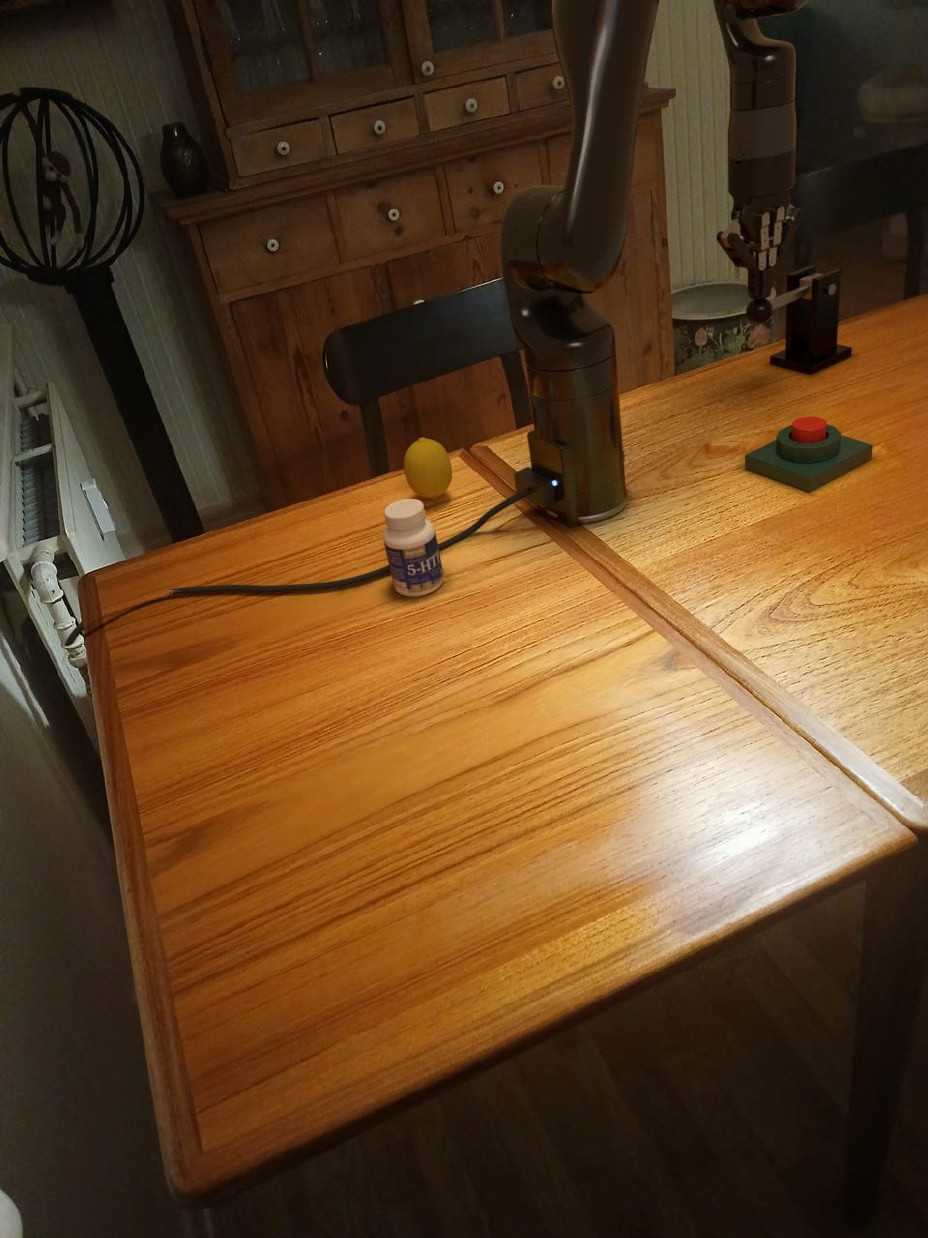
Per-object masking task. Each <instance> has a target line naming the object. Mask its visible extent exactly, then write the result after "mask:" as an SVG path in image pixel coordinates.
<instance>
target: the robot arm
mask: <svg viewBox="0 0 928 1238" xmlns="http://www.w3.org/2000/svg"><path fill="white" fill-rule="evenodd" d="M808 1H809V0H712V3H713V5H714V6H713V7H714V11H715V16H716V20H717V22H718V25H719V29H720V34H721V37H722V40H723V46H724V51H725V55H726V59H727V63H728V69H729V116H728V117H729V118H728V124H727V125H728V126H727V128H728V129H727V192H728V194H729V195H730V196H731V198H732V200H733V203H732V204H733V205H732V209H731V212H730V220H731V221H730V223H729V224H728V226H727V227H726V229H725V231H722V230H719V231H718V232H717V234H716V241H717V242H718V244H719V246H720V247H721V248H722V250H723V252H724V253H725V254H726V255H727V257H728V258H729V259H730V261H731V263H732V264H733V266H734V267H735V268H743V269H746V270H747V293H748V296H749V298H750V299H752V300H753V299H756V300H762V299H765V298H766V299H767V298H769V297H771V296H772V290H773V284H774V283H773V282H774V280H773V278H774V277H773V276H774V266H775V265H776V263H777V260H778V259H779V258H784V257H785V256H786V254H787V252H788V250H789V248H790V245H791V243H792V241H793V239H794V237H795V235H796V233H797V231H798V228H799V226H800V224H801V222H802V219H803V217H804V215H805V210H804V208H801V207H795V206H794V205H792V203H791V195H790V191H789V190H792V188H793V187H794V185H795V183H796V150H797V114H796V100H795V99H796V68H797V67H796V65H797V55H796V49H795V47H794V45H793V44H792V43H791V42H788V41H784V40H778V39H772V38H768V37H766V36H764V35H763V34H762V31H761V30H760V28H759V25H758V23H757V20H756V19H762V18H769V17H778V16H785V15H789V14H792V13H795V12H798V11H799V10H800V9H802V8H803V7H804V6H805V5H806V4H807V3H808ZM659 5H660V0H551V15H550V20H551V30H552V31H551V32H552V37H553V43H554V47H555V51H556V55H557V60H558V62H559V66H560V69H561V74H562V77H563V79H564V83H565V87H566V91H567V94H568V100H569V103H570V110H571V141H570V150H569V156H568V157H569V158H568V165H567V170H566V176H565V181H564V185H553V184H536V185H530V186H527V187H525V188H523V189H521V190H520V191H518V192H516V193H515V195H514V196H512V198H511V199H510V201H509V202H508V204H507V205H506V208H505V209H504V212H503V215H502V219H501V223H500V228H499V256H500V264H501V270H502V276H503V281H504V282H503V283H504V286H505V287H504V289H505V291H506V292H505V293H506V297H507V303H508V309H509V314H510V319H511V325H512V328H513V331H514V334H515V337H516V338H517V340H518V342H519V343H520V345H521V347H522V349H523V353H524V360H525V368H526V376H527V385H528V392H529V399H530V409H531V416H532V423H533V429H532V430H529V431H528V432H527V435H526V438H527V445H528V452H529V459H530V466H531V467H529V466H527V467H525V468H522V469H520V470H518V471H516V472H514V473H513V477H514V484H515V490H516V493H515V494H513V495H511V496H510V497H508V498H506V499H504V500H503V501H502V502H500V503H498V504H496V505H495V506H494V507H492V508H490V509H489V510H488V511H486V512H485V513H484V514H483V515H482V516H481V517H480V518H479V519H478V520H477V521H476V522H474V523H473V524H472V525H470V526H469V527H468V528H466V529H464V530H463V531H461V532H459V533H457V534H456V535H454V536H452V537H450V538H448V539H446V540H444V541H442V542H438V548H439V552H441V551H443V550H445V549H447V548H449V547H451V546H453V545H455V544H457V543H459V542H460V541H462V540H464V539H466V538H468V537H469V536H471V535H472V534H474V533H475V532H477V531H478V530H479V529H481V528H482V527H483V526H484V525H485V524H486V523H487V522H488V521H489V520H491V518H493V517H494V516H496V515H497V514H499V513H500V512H501V511H503V510H504V509H506V508H508V507H509V506H512V505H513V504H515V503H517V502H519V501H520V500H522V499H524V500H527V501H529V502H531V503H532V504H535V505H536V510H537V511H538V512H540V513H542V514H544V515H546V516H547V517H549V518H551V519H553V520H555V521H557V522H558V523H561V524H562V525H565V526H567V527H568V528H572V527H574V526H577V525H580V524H588V523H595V522H599V521H602V520H605V519H608V518H610V517H613V516H615V515H617V514H618V513H620V512H621V511H622V510H623V509H624V508H625V507H626V506H627V504H628V502H629V501H628V500H629V499H628V498H629V497H628V489H627V484H626V469H625V462H626V455H625V454H626V453H625V450H624V443H623V429H622V416H621V402H620V392H619V391H620V389H619V373H618V361H617V349H616V337H615V336H616V335H615V328H614V325H613V323H612V321H611V319H610V318H609V317H608V316H606V315H605V314H604V313H602V312H601V311H600V310H598V308H596V307H595V306H594V305H593V304H592V303H591V301H590V300H588V299H589V298H587V296H586V295H591V294H594V293H596V292H599V291H600V290H602V289H603V288H604V287H606V286H607V285H608V283H609V282H610V281H611V280H612V278H613V277H614V275H615V273H616V271H617V269H618V268H619V266H620V262H621V259H622V257H623V253H624V249H625V245H626V240H627V234H628V227H629V217H630V207H631V196H632V185H633V176H634V175H633V174H634V163H635V152H636V143H637V133H638V125H639V118H640V113H641V105H642V98H643V92H644V85H645V79H646V74H647V73H646V72H647V66H648V60H649V54H650V50H651V49H650V48H651V43H652V39H653V33H654V29H655V24H656V19H657V16H658V10H659ZM388 573H391V571H390V567H389V564H387V565H385V566H383V567H380V568H377V569H374V570H372V571H369V572H366V573H363V574H359V575H355V576H352V577H348V578H343V579H337V580H333V581H327V582H326V581H323V582H316V583H314V582H313V583H297V584H296V583H295V584H278V585H277V584H275V585H259V584H258V585H256V584H217V585H216V584H215V585H214V584H213V585H202V586H201V585H199V586H186V587H176V588H171V589H168V590H175V591H176V592H175V591H173V594H172V593H171V592H170V594H172V596H180V595H192V594H193V595H194V594H209V593H211V594H212V593H228V592H229V593H233V592H235V593H236V592H237V593H264V594H265V593H268V594H269V593H271V594H272V593H290V592H291V593H294V592H295V593H296V592H311V591H312V592H313V591H323V590H324V591H325V590H333V589H338V588H344V587H347V586H348V587H349V586H351V585H356V584H359V583H363V582H366V581H370V580H373V579H375V578H378V577H381V576H383V575H386V574H388ZM177 590H178V591H179V592H178V591H177ZM174 594H175V595H174ZM177 594H178V595H177ZM172 596H170V595H169V596H168V597H172ZM85 619H86V618H84V619H83V620H84V622H85ZM83 620H82V621H80V622H79V624H77V626H75V628H74V629H72V632H70V634H69V635H68V637H67V639H66V641H65V642H64V647H65V648H66V647H70V646H71V645H73V644H75V641H76V640H77V638H78V637H79V636H80V635H81V633H82V632H83V631H85V629H84V628H83V627H84V626H83Z"/></svg>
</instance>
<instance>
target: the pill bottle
mask: <svg viewBox="0 0 928 1238" xmlns="http://www.w3.org/2000/svg"><path fill="white" fill-rule="evenodd" d="M383 515H384V519H385V524H386V526H387V527H386V528H385V529H384V531H383V535H382V539H383V545H384V550H385V553H386V558H387V563H388V565H389V567H390V571H391V572H390V576H391V579H392V584H393V588H394V589H395V591H396V592H397V593H398V594H400V595H402V596H405V597H421V596H425V595H428V594H431V593H433V592H434V591H436V590H438V589H439V588H440V587H441V586H442V584H443V583H444V581H445V575H444V569H443V565H442V559H441V553H440V551H439V548H438V544H439V542H438V538H437V533H436V528H435V526H434V524H433V523H432V522H431V521H430V520H429V519H427V517H426V516H427V515H426V510H425V506H424V502H423V501H422V500H419V499H417V498H416V499H415V498H403V499H399V500H396V501H394V502H391V503H389V504H388V505H387V506H386V507H385V508H384V510H383Z"/></svg>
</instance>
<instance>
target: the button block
mask: <svg viewBox="0 0 928 1238" xmlns="http://www.w3.org/2000/svg"><path fill="white" fill-rule="evenodd" d="M791 428H792V424H790V425H787V426H786V427H784V428H781V429H780V430H778V433H777V435H776V438H775V439H774V440H772V441H770V442H768V443H766V444H764V445H762V446H759V447H758V448H755V449H754V450H752V451H750V452H748V453H745V455H744V468H745V470H748V471H751V472H754V473H756V474H759V475H762V476H764V477H766V478H770V479H773V480H776V481H778V482H781V483H783V484H786V485H788V486H792V487H794V488H797V489H799V490H802V491H805V492H808V493H810V492H812V491H814V490H816V489H817V488H820V487H821V486H823V485H826V484H827V483H829V482H830V481H832V480H835V479H837V478H838V477H840V476H842V475H843V474H846V473H847V472H849V471H851V470H853V469H855V468H856V467H859V466H861V465H863V464H865V463H866V462H868V461H870V460H872V458H873V447H874V446H873V444H871V443H868V442H865V441H861V440H859V439H855V438H852V437H848V436H846V435H843V434H842V432H841V431H840V430H839V429H838V428H837V427H836V426H834V425H831V424H828V423H827V429H826V439H825V440H823V441H821V442H815V443H799V442H796V441H793V440H792V439H791Z"/></svg>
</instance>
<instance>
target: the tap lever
mask: <svg viewBox="0 0 928 1238" xmlns="http://www.w3.org/2000/svg"><path fill="white" fill-rule="evenodd" d="M823 274H824V273H819V272H816V273H813V274H811V275H808V276H806V277H804V278H802V279H800V287H798V288H796V289H793V290H791V291H789V292H787V291H786V292H784V293H782V294H780V295H778V296H776V297H773V298H771V299H767V298H765V299H762V300H756V299H752V300H750V301H749V302H748V303H747V306H746V308H745V309H746V311H745V315H746V317H747V319H748V321H750V322H751V323H753V324H755V325H761V324H764V323H766V322H767V321H769V319H770V318H771V317H772V314H773V311H775V310H777V309H779V308H781V307H783V306H786V304H788V303H790V302H792V301H795V300H797V299H799V298H805V299H811V294H812V279H813V278H815V277H818V276H820V275H823Z"/></svg>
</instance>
